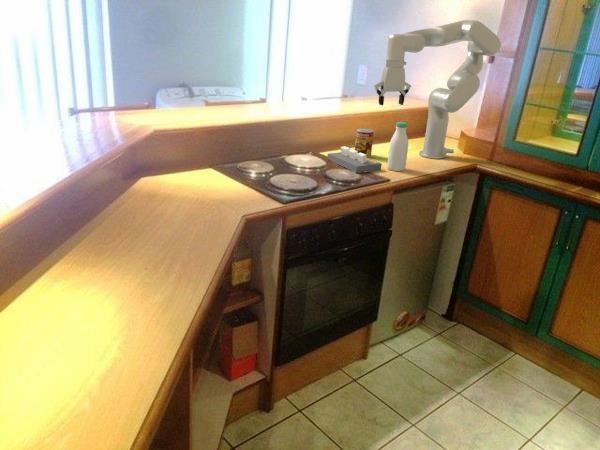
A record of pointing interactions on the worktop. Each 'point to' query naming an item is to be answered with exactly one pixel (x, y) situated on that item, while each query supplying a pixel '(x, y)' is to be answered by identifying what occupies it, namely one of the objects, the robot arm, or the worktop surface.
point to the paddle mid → (353, 154)
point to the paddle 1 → (345, 150)
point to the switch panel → (355, 163)
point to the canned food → (364, 141)
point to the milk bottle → (398, 148)
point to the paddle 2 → (361, 157)
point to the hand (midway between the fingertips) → (391, 104)
